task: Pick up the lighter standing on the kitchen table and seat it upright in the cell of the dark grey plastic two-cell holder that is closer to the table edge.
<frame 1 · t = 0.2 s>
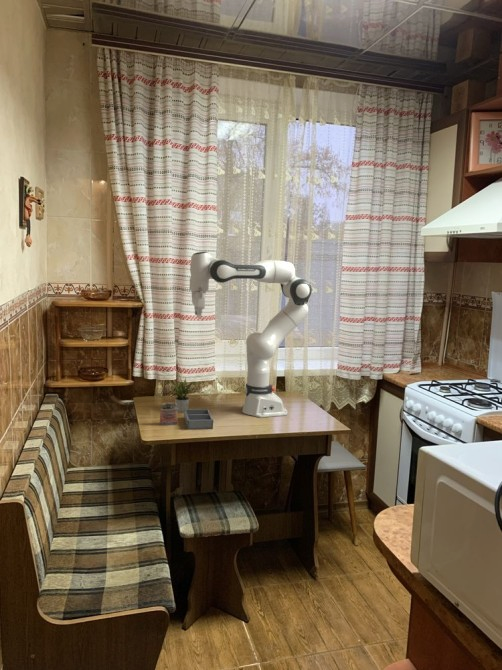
hand: (197, 316, 246), 47 cm above the table, tool pointing down, fingers open, 8 cm apart
cell holder: (198, 423, 240), on the table
house plant: (183, 411, 256), on the table
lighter: (168, 424, 237), on the table
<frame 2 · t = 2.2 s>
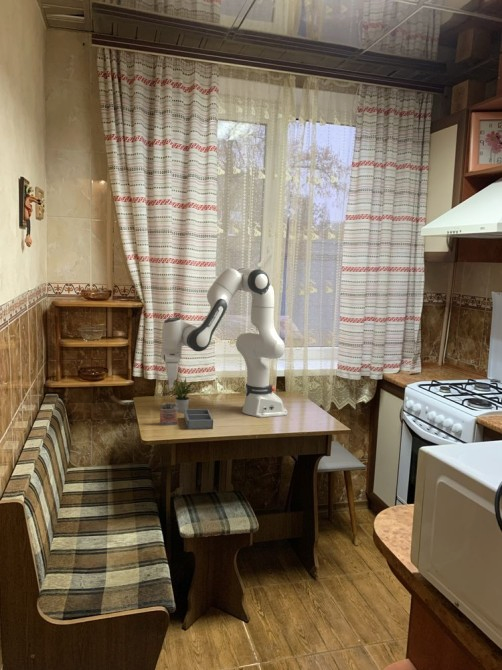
hand: (170, 384, 234), 18 cm above the table, tool pointing down, fingers open, 8 cm apart
nothing on the table moved.
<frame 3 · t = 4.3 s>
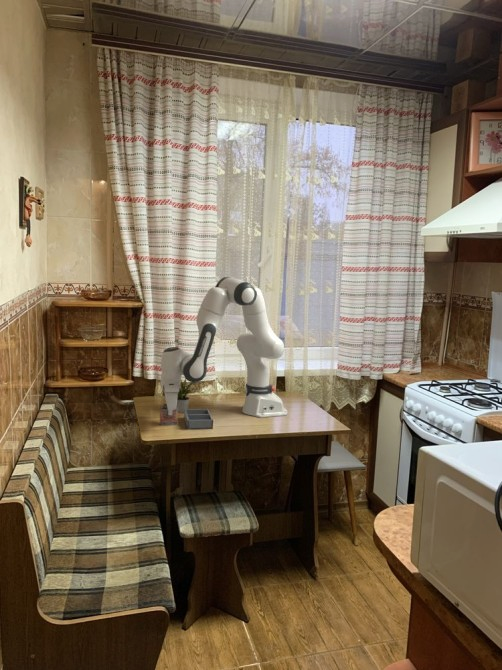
hand: (169, 413, 236), 5 cm above the table, tool pointing down, fingers closed on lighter, 3 cm apart
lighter: (168, 424, 236), on the table, touching gripper
everything else where it was.
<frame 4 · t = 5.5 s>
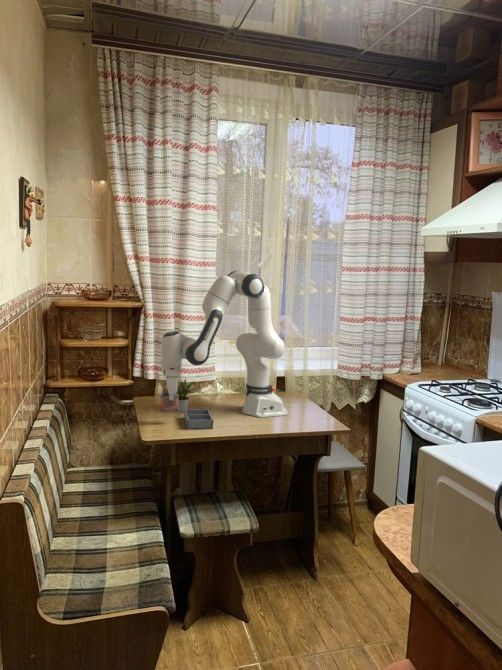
hand: (170, 397, 235), 12 cm above the table, tool pointing down, fingers closed on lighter, 3 cm apart
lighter: (169, 411, 236), point 6 cm above the table, touching gripper
everything else where it was.
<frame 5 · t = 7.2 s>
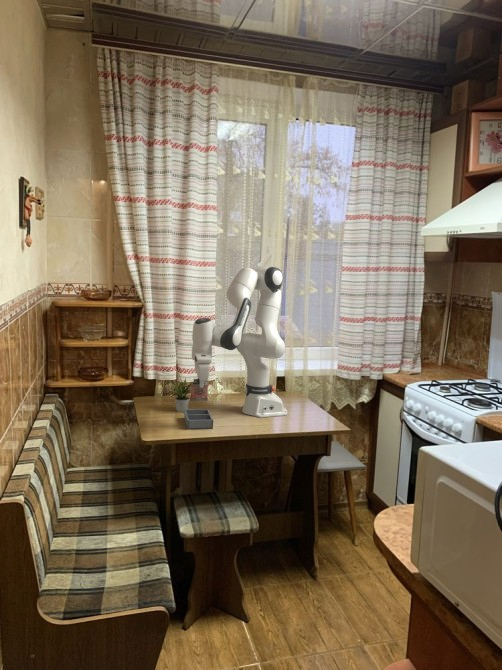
hand: (200, 385, 233), 19 cm above the table, tool pointing down, fingers closed on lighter, 3 cm apart
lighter: (198, 400, 234), point 12 cm above the table, touching gripper
everything else where it was.
when the fingers open (7 cm above the table, at t = 10.0 s): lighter stays where it is, resting on cell holder.
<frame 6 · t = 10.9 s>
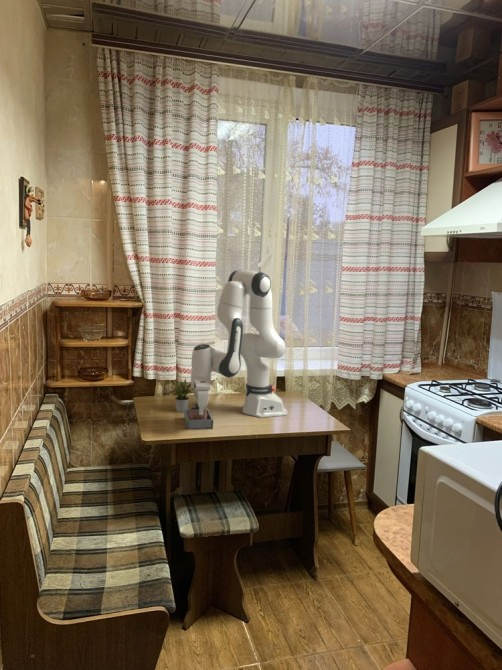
hand: (199, 411, 235), 7 cm above the table, tool pointing down, fingers open, 8 cm apart
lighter: (197, 424, 236), point 1 cm above the table, touching cell holder
everything else where it was.
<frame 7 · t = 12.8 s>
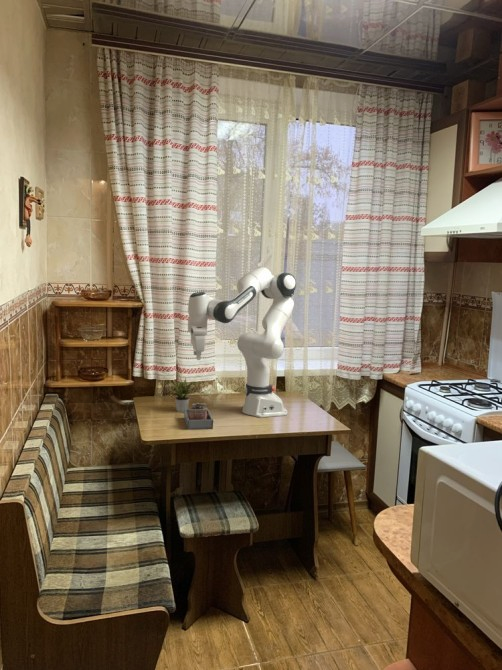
hand: (197, 357, 243), 29 cm above the table, tool pointing down, fingers open, 8 cm apart
nothing on the table moved.
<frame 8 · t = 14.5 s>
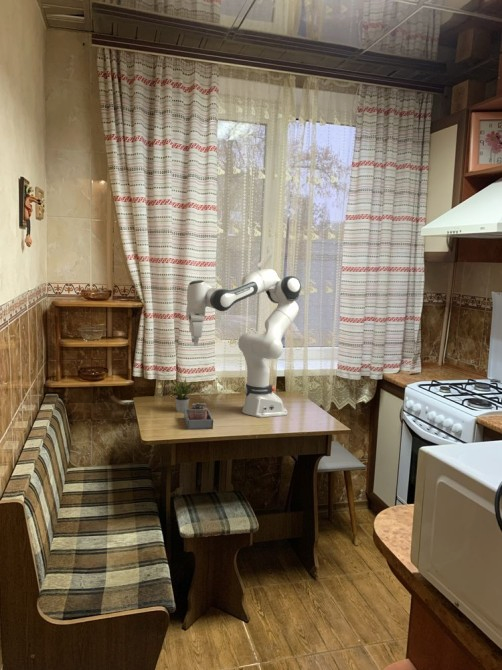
hand: (194, 344, 248), 34 cm above the table, tool pointing down, fingers open, 8 cm apart
nothing on the table moved.
at the end: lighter 0.6 cm from the target spot on the cell holder, point 0.6 cm above the cell holder's base; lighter tilted 0°; the gripper is holding nothing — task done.
